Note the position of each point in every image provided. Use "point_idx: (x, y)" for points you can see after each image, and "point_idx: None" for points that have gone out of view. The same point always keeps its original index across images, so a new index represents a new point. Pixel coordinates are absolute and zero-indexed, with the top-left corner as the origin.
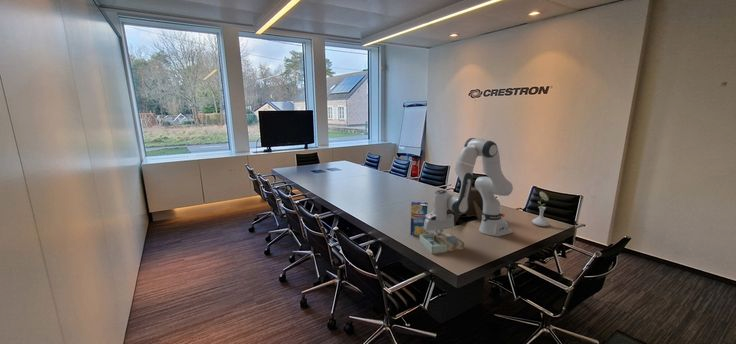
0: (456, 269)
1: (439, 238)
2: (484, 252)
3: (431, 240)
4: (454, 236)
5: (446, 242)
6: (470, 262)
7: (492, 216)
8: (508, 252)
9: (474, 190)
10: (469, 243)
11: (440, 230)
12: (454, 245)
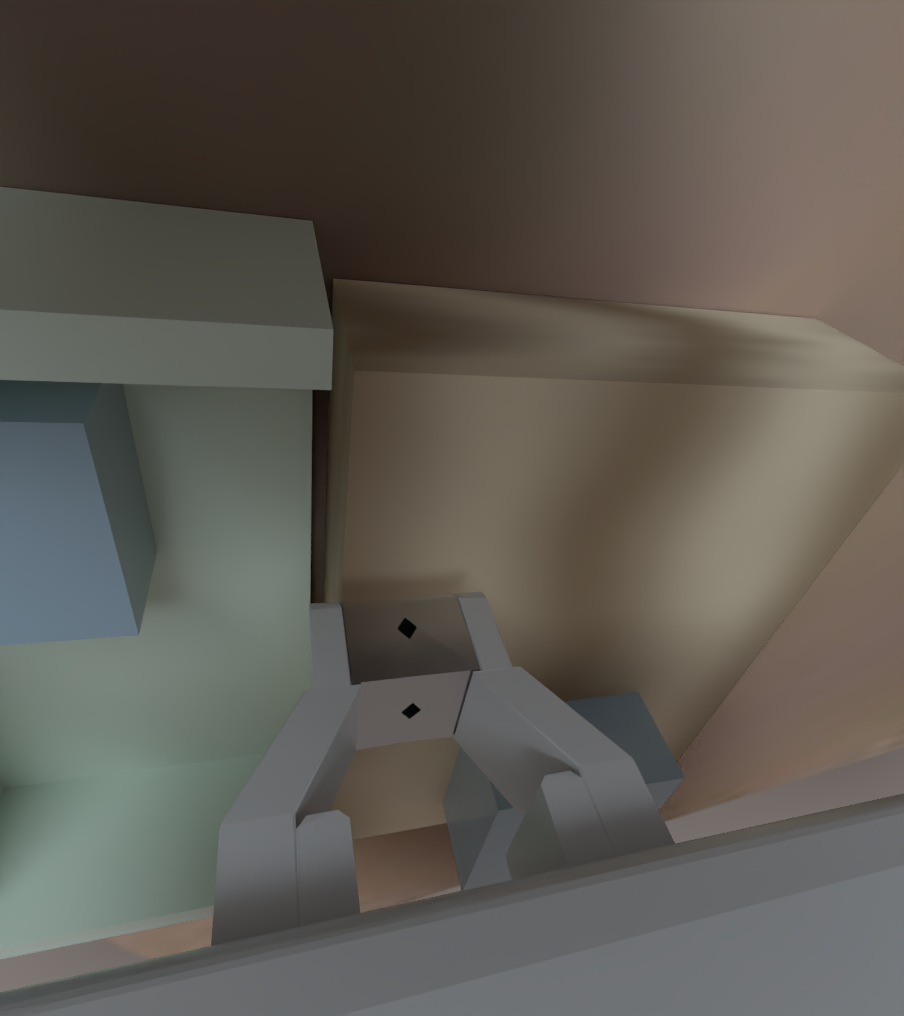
0: (205, 946)
1: None
2: (717, 755)
3: (70, 600)
4: (657, 803)
5: (392, 781)
6: (424, 871)
7: None
8: (869, 756)
9: None
10: (836, 582)
11: (543, 757)
12: None
